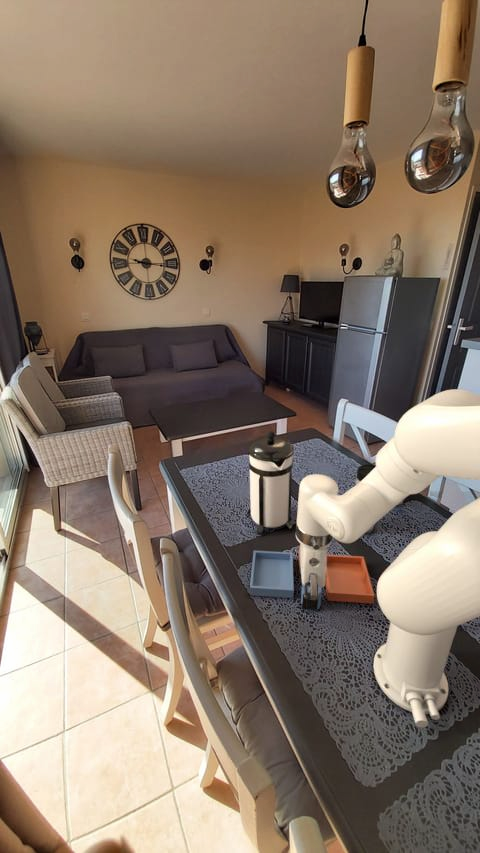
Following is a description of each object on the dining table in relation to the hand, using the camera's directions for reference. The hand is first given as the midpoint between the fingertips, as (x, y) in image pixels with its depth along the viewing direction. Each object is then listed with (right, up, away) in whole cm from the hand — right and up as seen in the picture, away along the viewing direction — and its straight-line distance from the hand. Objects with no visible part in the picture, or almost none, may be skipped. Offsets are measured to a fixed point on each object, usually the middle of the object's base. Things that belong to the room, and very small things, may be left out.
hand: (308, 589), depth 82 cm
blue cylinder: (+1, -3, +1) cm, 3 cm away
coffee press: (-7, +9, +29) cm, 31 cm away
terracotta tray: (+10, -1, +6) cm, 12 cm away
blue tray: (-7, 0, +8) cm, 11 cm away
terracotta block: (+2, +1, +11) cm, 11 cm away
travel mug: (+21, +7, +24) cm, 33 cm away
